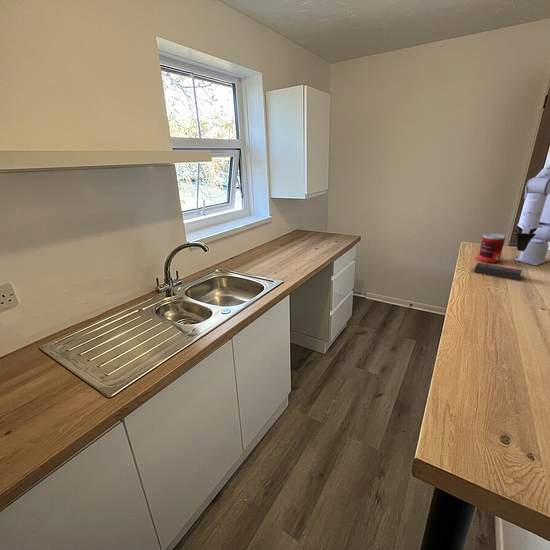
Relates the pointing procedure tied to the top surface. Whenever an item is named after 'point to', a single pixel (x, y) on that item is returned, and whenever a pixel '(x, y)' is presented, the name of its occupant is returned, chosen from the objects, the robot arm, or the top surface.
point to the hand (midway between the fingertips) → (521, 248)
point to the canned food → (491, 247)
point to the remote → (498, 271)
